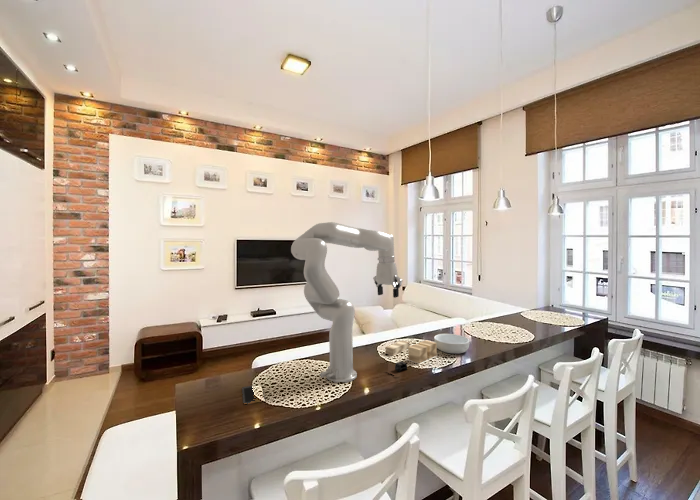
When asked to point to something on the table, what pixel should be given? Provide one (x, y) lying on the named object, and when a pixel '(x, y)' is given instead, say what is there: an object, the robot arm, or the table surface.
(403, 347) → the lintel
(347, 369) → the robot arm
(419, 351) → the pillar
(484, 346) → the table surface
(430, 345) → the pillar
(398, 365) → the small black block
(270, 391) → the table surface
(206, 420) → the table surface
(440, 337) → the cereal bowl
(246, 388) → the cell phone
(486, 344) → the table surface
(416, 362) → the build board
